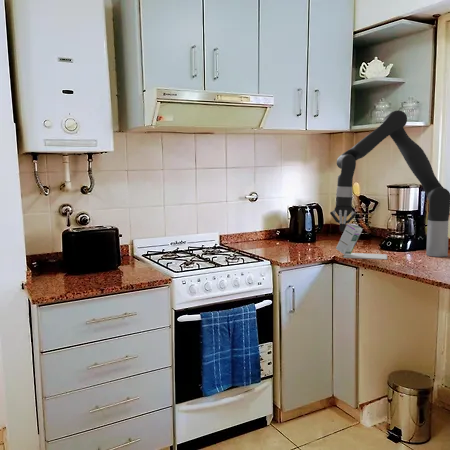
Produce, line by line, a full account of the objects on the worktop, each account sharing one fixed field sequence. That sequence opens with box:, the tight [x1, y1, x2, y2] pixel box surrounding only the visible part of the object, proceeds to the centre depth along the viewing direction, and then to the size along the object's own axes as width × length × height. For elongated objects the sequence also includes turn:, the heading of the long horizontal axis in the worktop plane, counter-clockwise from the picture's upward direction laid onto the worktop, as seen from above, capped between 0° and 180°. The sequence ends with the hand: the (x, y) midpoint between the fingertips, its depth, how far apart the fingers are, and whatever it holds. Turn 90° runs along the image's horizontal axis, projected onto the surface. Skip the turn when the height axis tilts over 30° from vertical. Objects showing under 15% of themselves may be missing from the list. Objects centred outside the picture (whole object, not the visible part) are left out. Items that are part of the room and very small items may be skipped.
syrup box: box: [335, 222, 363, 255], centre depth 230 cm, size 6×6×14 cm
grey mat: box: [342, 252, 388, 261], centre depth 229 cm, size 20×12×1 cm, turn 72°
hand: (342, 231), depth 231 cm, fingers closed
